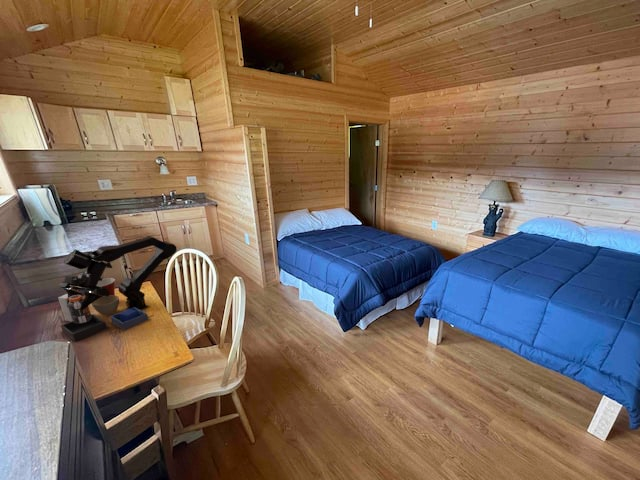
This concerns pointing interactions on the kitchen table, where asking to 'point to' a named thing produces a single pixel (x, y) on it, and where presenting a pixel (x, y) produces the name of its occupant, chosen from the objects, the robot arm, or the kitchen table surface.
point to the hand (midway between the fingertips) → (74, 308)
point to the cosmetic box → (65, 307)
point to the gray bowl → (106, 305)
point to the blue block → (128, 315)
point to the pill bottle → (78, 310)
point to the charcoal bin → (84, 328)
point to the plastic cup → (107, 285)
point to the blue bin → (130, 323)
